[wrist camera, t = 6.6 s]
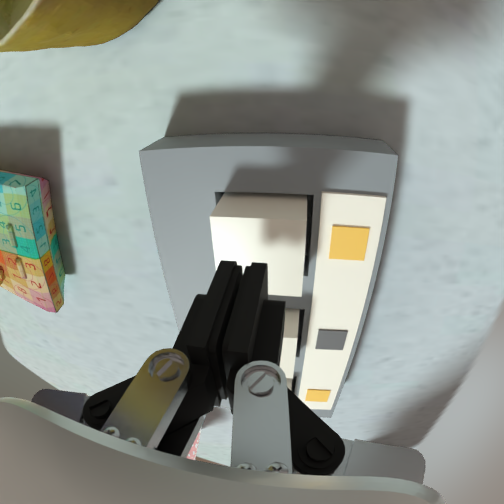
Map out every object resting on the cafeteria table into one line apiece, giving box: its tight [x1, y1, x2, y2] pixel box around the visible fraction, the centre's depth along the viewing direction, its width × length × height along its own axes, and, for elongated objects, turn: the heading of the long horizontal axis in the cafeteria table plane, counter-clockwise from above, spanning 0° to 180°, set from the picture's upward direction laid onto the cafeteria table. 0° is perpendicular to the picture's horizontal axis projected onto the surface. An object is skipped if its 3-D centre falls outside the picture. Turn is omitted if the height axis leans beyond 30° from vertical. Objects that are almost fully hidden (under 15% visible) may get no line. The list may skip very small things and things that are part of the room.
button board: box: [139, 133, 398, 418], centre depth 20 cm, size 12×23×3 cm, turn 2°
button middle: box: [280, 308, 300, 379], centre depth 19 cm, size 4×4×3 cm
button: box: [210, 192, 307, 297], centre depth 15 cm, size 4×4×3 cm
